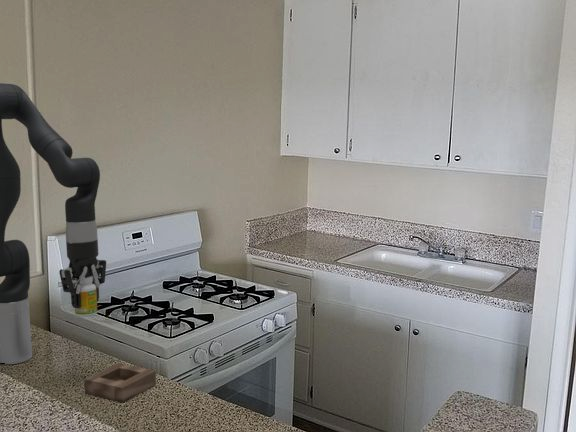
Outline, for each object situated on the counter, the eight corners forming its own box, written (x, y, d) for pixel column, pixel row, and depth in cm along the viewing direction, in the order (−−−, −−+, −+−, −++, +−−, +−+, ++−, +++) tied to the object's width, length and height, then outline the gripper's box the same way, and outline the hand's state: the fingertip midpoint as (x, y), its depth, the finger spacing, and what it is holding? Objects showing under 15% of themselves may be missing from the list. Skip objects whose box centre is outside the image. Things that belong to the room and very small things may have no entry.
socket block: (85, 393, 162) (84, 379, 161) (119, 376, 172) (118, 363, 172) (123, 402, 156) (122, 388, 156) (155, 384, 167) (155, 370, 166)
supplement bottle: (91, 317, 165) (88, 279, 164) (71, 316, 166) (68, 278, 165) (101, 311, 170) (99, 274, 169) (81, 310, 171) (79, 273, 170)
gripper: (91, 233, 174) (95, 296, 176) (48, 242, 161) (52, 310, 163) (113, 235, 170) (116, 299, 172) (71, 244, 157) (75, 314, 160)
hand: (85, 304), depth 168 cm, fingers closed on supplement bottle, 5 cm apart
